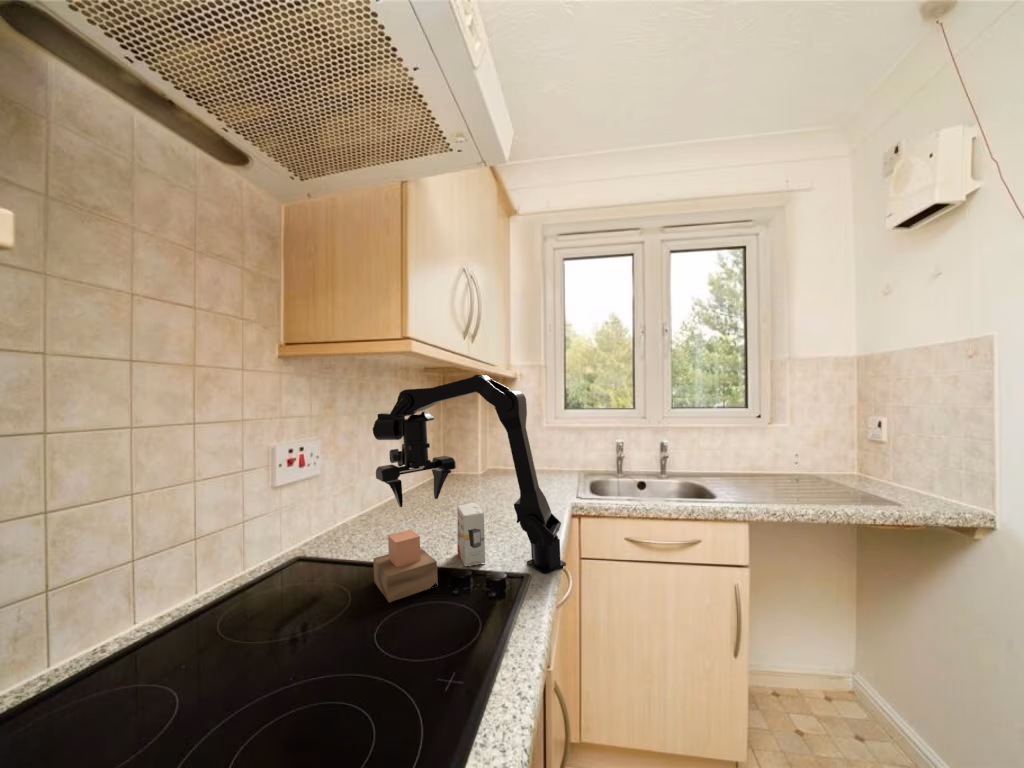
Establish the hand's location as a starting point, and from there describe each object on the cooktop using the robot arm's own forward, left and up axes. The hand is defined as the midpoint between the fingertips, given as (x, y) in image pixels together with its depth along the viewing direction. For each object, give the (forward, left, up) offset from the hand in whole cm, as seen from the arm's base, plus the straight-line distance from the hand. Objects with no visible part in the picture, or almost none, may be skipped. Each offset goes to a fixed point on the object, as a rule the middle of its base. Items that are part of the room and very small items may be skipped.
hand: (418, 502), depth 98 cm
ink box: (-11, -8, -13) cm, 19 cm away
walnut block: (-13, +9, -12) cm, 20 cm away
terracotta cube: (-13, +8, -7) cm, 17 cm away
